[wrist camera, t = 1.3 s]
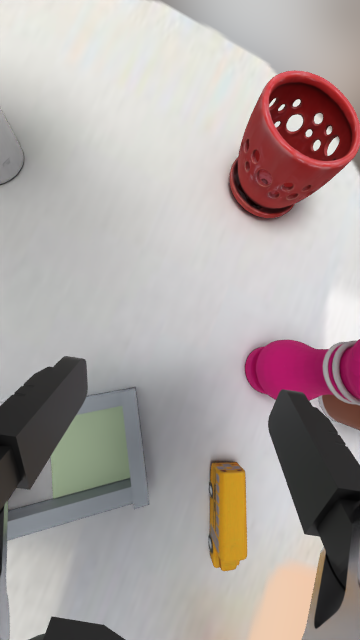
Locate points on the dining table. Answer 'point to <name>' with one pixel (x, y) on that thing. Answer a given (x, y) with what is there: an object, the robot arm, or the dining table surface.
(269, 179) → the plant pot
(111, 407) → the trap channel
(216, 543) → the toy bus
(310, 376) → the pepper mill
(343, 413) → the coffee cup
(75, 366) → the robot arm
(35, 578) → the dining table surface
